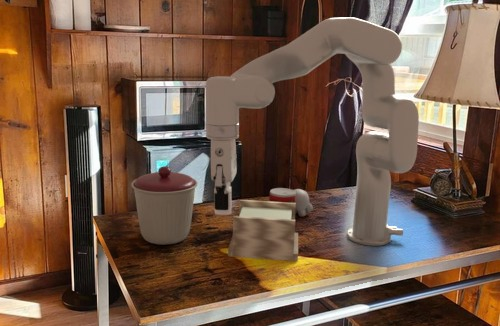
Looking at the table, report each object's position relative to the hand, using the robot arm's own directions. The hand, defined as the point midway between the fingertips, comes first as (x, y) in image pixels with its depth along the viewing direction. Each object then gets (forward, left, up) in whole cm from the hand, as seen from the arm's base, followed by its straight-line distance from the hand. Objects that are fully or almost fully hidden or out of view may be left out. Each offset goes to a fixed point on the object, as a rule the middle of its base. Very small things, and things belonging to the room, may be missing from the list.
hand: (223, 205), depth 118 cm
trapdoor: (-10, -16, -9) cm, 21 cm away
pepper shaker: (0, 0, -2) cm, 2 cm away
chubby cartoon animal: (-17, -43, -17) cm, 50 cm away
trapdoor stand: (-10, -16, -17) cm, 25 cm away
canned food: (-14, -34, -17) cm, 40 cm away
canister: (+19, -18, -17) cm, 31 cm away
